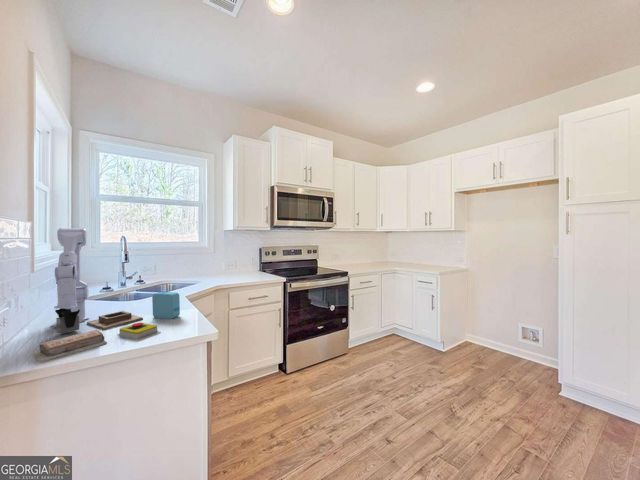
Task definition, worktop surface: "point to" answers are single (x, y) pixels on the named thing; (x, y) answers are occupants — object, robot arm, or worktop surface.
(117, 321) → the dock
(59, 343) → the packaged product
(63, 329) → the servo block
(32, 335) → the worktop surface
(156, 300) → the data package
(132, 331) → the emergency button
